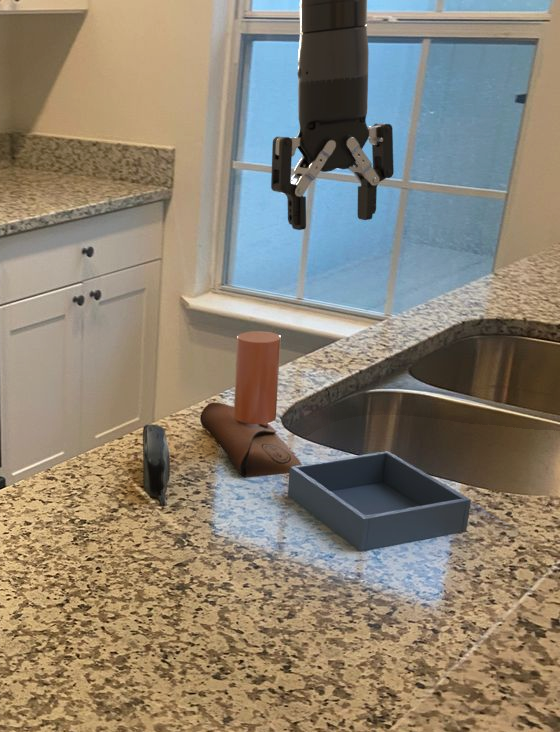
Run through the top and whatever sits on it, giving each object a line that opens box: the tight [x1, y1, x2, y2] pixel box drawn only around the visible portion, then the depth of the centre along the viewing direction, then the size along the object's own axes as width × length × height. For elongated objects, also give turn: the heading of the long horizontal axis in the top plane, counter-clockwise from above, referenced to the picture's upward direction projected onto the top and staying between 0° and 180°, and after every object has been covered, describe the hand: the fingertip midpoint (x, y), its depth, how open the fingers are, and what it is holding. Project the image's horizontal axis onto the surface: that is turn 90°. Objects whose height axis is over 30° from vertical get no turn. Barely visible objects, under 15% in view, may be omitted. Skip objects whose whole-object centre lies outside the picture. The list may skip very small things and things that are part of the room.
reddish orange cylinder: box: [233, 330, 282, 424], centre depth 122 cm, size 5×5×10 cm
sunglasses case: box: [199, 402, 303, 479], centre depth 125 cm, size 18×7×7 cm
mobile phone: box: [142, 423, 171, 507], centre depth 117 cm, size 5×3×15 cm
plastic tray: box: [287, 450, 472, 553], centre depth 107 cm, size 12×14×4 cm
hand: (332, 224), depth 120 cm, fingers open, 8 cm apart
